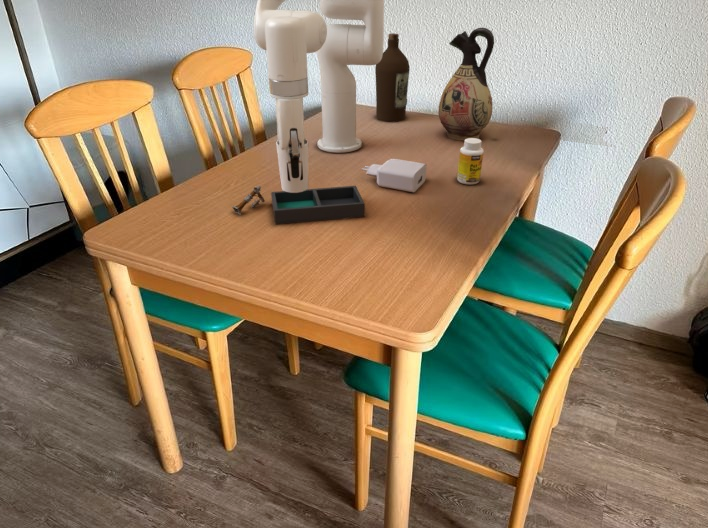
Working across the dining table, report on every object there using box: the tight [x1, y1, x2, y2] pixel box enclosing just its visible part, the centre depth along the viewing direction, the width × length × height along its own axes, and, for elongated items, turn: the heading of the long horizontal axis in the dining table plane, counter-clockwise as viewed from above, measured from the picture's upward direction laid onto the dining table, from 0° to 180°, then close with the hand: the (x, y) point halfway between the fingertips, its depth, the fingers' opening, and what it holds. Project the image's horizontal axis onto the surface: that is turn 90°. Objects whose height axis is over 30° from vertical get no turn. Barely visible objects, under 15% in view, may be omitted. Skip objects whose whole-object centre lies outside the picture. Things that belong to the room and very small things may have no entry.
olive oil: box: [374, 32, 410, 123], centre depth 180 cm, size 11×11×25 cm
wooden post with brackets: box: [231, 185, 266, 215], centre depth 128 cm, size 2×8×4 cm, turn 136°
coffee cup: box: [275, 137, 309, 193], centre depth 121 cm, size 7×7×10 cm
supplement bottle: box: [456, 138, 485, 186], centre depth 139 cm, size 6×6×10 cm
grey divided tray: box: [270, 185, 366, 225], centre depth 127 cm, size 10×19×3 cm, turn 100°
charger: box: [361, 158, 428, 193], centre depth 140 cm, size 5×9×15 cm
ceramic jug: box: [438, 27, 495, 141], centre depth 162 cm, size 17×15×30 cm
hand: (294, 175), depth 122 cm, fingers closed on coffee cup, 4 cm apart
